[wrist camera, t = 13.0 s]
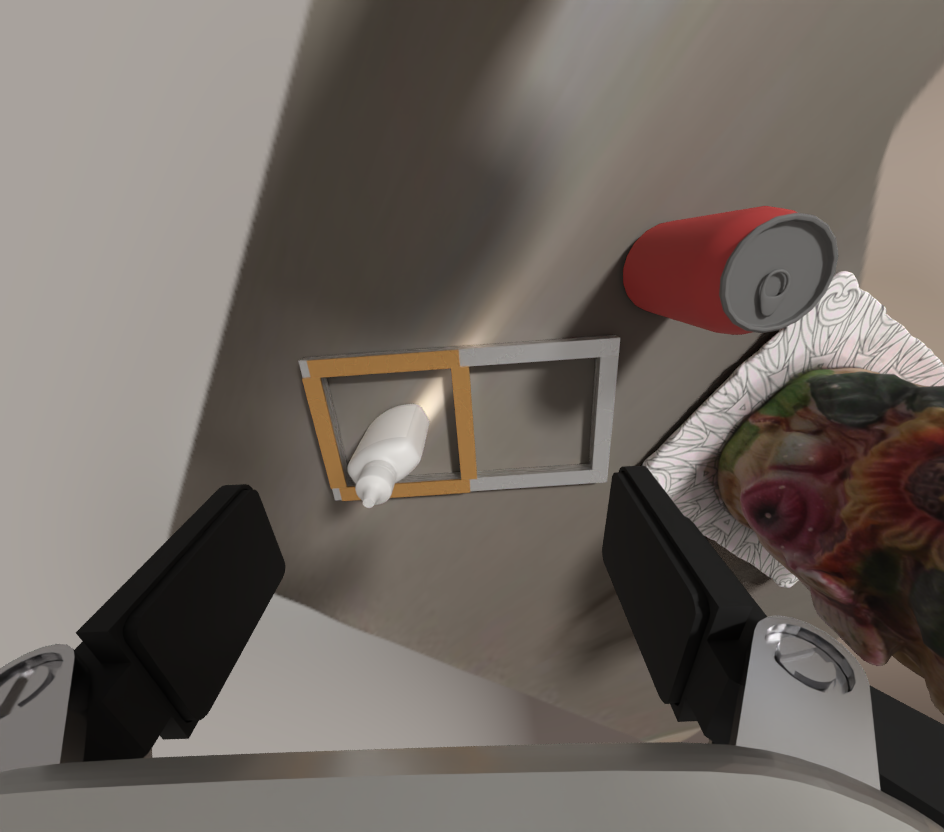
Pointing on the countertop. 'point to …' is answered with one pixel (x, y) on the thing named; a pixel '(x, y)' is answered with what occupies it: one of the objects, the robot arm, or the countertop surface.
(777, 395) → the cookie jar
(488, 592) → the countertop surface
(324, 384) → the rail
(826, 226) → the beer can
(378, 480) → the eye dropper bottle
